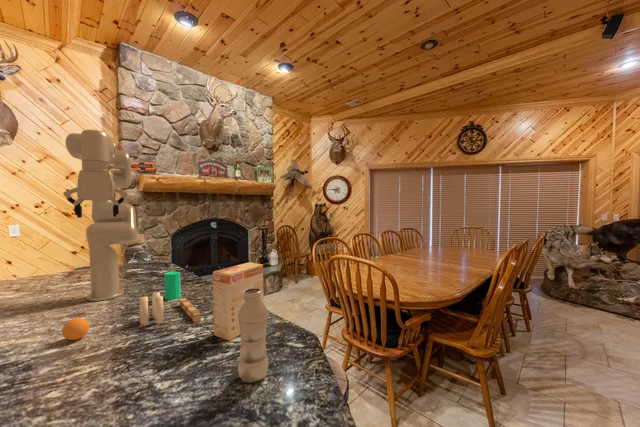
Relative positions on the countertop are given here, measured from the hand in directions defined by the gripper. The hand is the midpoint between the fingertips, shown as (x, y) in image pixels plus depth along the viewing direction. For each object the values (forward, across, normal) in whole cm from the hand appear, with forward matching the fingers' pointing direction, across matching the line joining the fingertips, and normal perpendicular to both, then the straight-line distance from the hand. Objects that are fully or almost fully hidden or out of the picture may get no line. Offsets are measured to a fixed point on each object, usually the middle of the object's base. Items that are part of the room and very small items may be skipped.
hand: (97, 217), depth 97 cm
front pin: (+35, -13, +13) cm, 40 cm away
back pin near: (+35, -17, +15) cm, 42 cm away
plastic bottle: (+37, -35, +60) cm, 79 cm away
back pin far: (+35, -17, +10) cm, 40 cm away
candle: (+35, -23, -11) cm, 43 cm away
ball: (+32, +4, +16) cm, 36 cm away
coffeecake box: (+36, -39, +34) cm, 63 cm away
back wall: (+35, -27, +11) cm, 46 cm away
